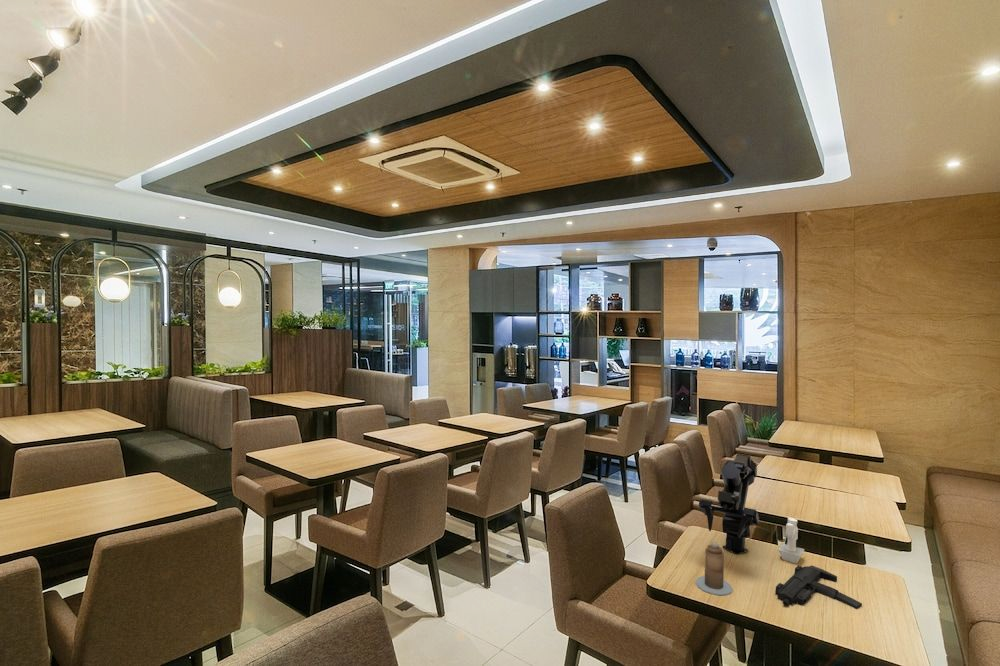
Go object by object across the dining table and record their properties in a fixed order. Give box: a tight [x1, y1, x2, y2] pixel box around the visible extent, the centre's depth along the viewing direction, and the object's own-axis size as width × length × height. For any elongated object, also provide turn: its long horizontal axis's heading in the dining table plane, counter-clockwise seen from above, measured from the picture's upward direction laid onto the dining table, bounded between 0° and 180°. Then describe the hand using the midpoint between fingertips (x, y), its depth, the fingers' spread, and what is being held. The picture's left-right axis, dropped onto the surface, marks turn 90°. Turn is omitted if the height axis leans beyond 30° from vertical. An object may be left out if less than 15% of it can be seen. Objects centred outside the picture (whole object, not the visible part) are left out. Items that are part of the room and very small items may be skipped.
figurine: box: [777, 517, 806, 565], centre depth 183 cm, size 7×9×15 cm
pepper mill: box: [704, 542, 725, 589], centre depth 164 cm, size 6×6×13 cm
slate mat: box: [695, 575, 733, 596], centre depth 164 cm, size 11×11×1 cm
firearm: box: [774, 564, 863, 610], centre depth 159 cm, size 3×30×20 cm
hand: (723, 533), depth 172 cm, fingers open, 9 cm apart
